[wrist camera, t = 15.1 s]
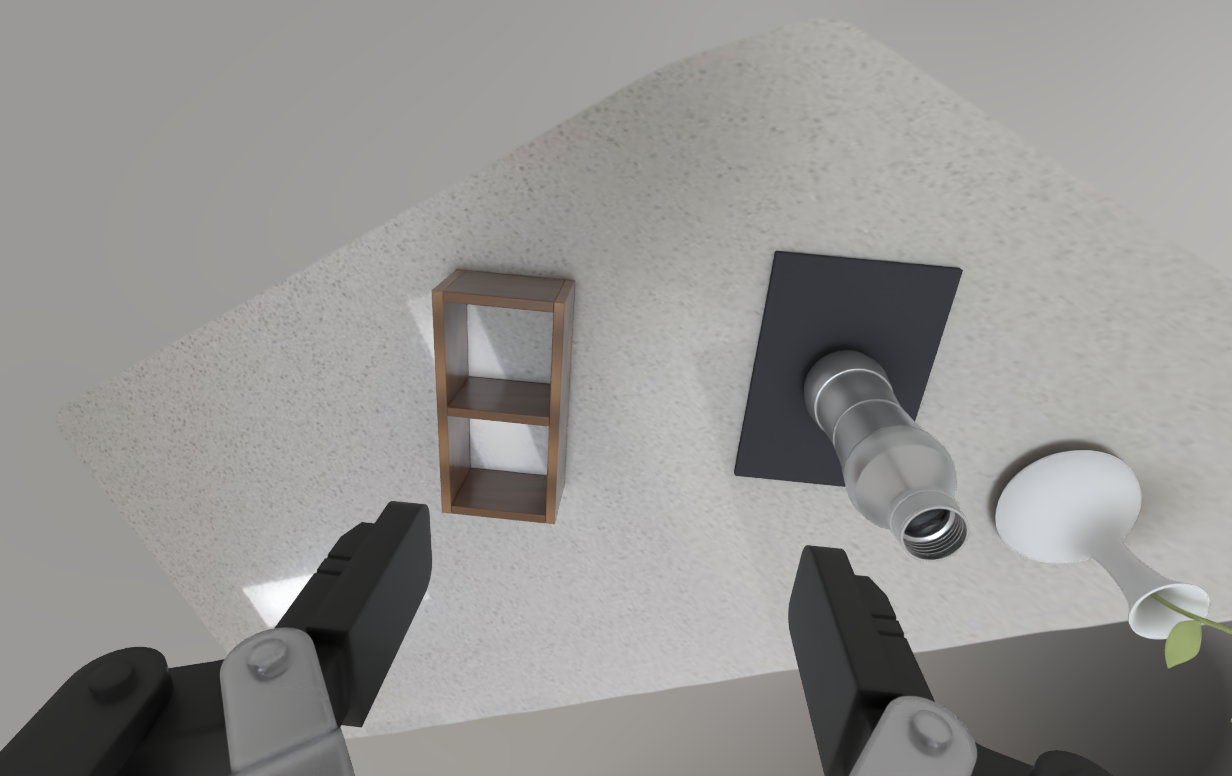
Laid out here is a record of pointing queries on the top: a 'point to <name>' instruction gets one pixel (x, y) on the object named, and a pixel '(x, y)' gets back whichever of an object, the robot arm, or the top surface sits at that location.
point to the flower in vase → (1100, 540)
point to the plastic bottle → (887, 456)
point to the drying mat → (829, 322)
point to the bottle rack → (499, 397)
